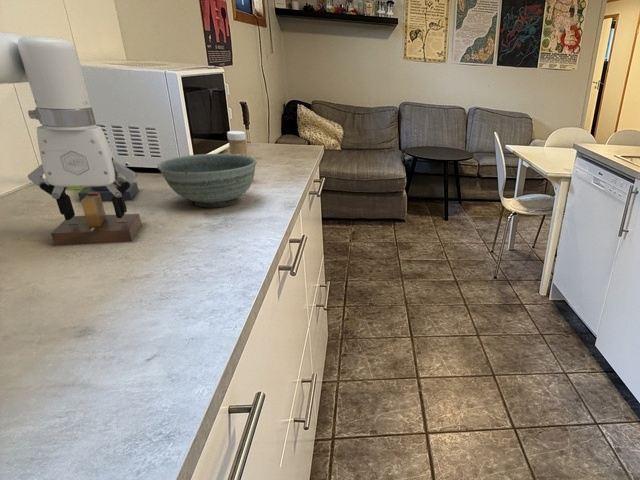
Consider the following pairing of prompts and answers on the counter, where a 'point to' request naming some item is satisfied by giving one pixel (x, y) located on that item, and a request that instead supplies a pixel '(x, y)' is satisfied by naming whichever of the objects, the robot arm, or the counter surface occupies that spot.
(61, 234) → the plate
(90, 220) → the tan wooden block
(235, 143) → the sprinkles bottle
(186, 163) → the bowl
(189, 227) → the counter surface
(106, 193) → the block
